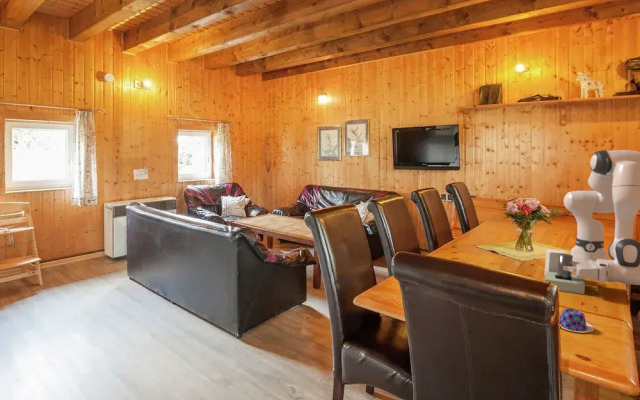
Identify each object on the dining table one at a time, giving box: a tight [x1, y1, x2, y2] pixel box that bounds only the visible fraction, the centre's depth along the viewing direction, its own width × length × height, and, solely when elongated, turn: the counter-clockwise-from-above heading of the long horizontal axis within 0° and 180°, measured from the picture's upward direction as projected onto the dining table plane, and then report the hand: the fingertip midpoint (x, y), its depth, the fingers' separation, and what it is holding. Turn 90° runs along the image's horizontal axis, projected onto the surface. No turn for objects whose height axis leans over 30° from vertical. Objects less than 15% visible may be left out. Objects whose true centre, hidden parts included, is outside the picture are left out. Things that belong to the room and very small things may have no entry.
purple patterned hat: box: [559, 308, 595, 334], centre depth 130 cm, size 12×12×5 cm
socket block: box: [544, 270, 586, 295], centre depth 169 cm, size 14×14×4 cm
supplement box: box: [543, 248, 568, 276], centre depth 181 cm, size 7×7×13 cm
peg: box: [557, 253, 573, 281], centre depth 168 cm, size 5×5×14 cm
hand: (562, 265), depth 168 cm, fingers open, 8 cm apart
